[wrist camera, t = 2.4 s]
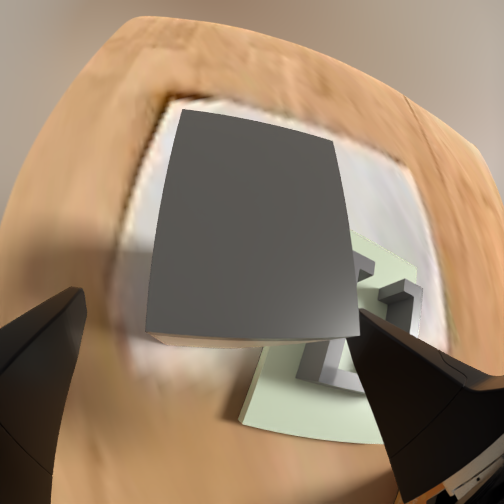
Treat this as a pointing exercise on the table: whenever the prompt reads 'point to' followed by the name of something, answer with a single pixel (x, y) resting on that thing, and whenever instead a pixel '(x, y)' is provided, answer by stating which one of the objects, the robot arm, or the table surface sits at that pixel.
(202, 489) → the table surface
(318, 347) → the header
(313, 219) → the plug
